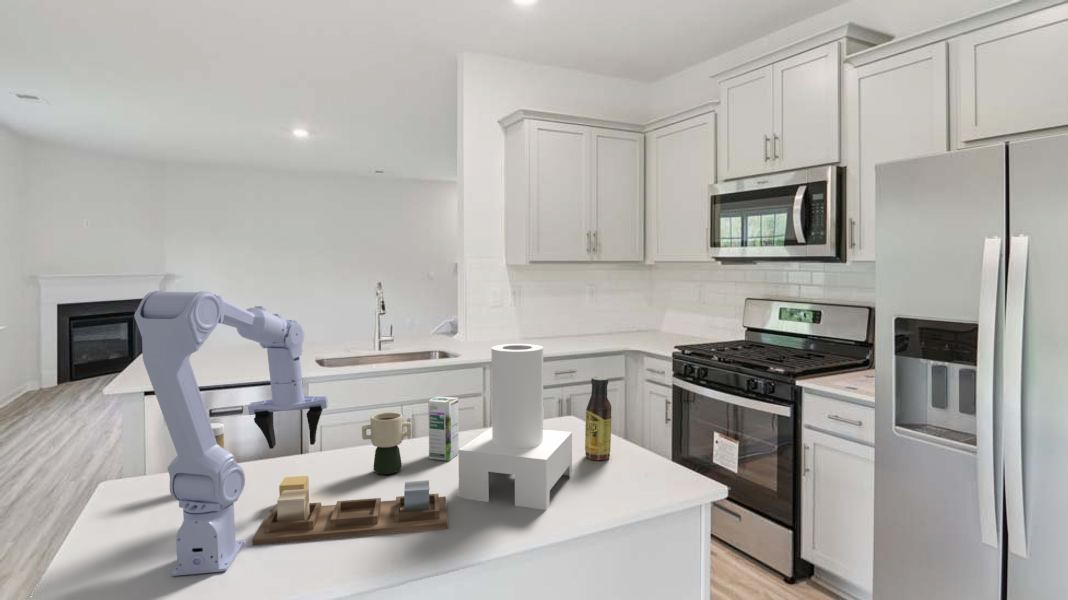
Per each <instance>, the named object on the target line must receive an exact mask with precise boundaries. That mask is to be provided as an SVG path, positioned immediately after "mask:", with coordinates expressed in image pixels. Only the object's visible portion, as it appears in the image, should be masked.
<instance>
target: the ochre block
mask: <svg viewBox="0 0 1068 600" xmlns="http://www.w3.org/2000/svg"><path fill="white" fill-rule="evenodd" d="M309 487H310V486H309V475H303V476H302V475H300V476H286V477H284V478H283V480H282V481H281V483H280V484H279V486H278V490H279V491H278V492H279V496H280V495H281V493H282V492H283V491H285V490H299V489H309V490H310V488H309Z"/></svg>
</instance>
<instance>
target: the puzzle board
mask: <svg viewBox="0 0 1068 600" xmlns="http://www.w3.org/2000/svg"><path fill="white" fill-rule="evenodd" d="M403 492H404V494H403V495H400V496H396V497H395V499H394V500H382V497H374V498H373V497H372V498H361V499H349V500H348V499H347V500H337V501H336V503H335V504H328V505H322V502H310V488H309V489H299V490H285V491H283V492H282V493H281V495H280V494H279V496H278V499H277V501H276V505H275V507H274V508H273V509H270V510H269V512H268V514H267V515H266V517H265V518H264V520H263V522H262V523H261V525H260V526H259V528H258V529H257V531H256V533H255V535H254V536H253V538H252V541H251V543H252V546H259V545H270V544H281V543H283V544H284V543H294V542H305V541H307V542H308V541H316V540H328V539H339V538H341V539H342V538H351V537H363V536H374V535H388V534H395V533H396V534H397V533H398V534H399V533H408V532H409V533H410V532H420V531H421V532H422V531H432V530H433V531H435V530H446V529H449V520H448V509H447V508H448V507H447V497H446V496H440V495H439V493H430V480H429V479H427V480H415V481H413V480H412V481H404V490H403Z"/></svg>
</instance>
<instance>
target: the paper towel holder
mask: <svg viewBox="0 0 1068 600" xmlns="http://www.w3.org/2000/svg"><path fill="white" fill-rule="evenodd" d="M489 473H497V474H506V475H514V506H515V507H524V508H531V509H536V510H542V511H543V510H544V511H547V510H548V509H549V507H550V498H551V497H550V494H551V493H550V491H551V489H552V488H553V487H554V486H555V484H556V483H558V481H559V480H560V479H561V477H562V476H567V477H568V476H569V479H571V478H572V476H573V432H572V431H563V430H554V429H552V430H551V429H544V346H542V345H539V344H532V343H531V344H530V343H505V344H504V343H503V344H497V345H493V346H491V427H489V428H488V429H486V430H485V431H484V432H481V434H479V435H477V436H476V437H475V438H474V439H473V438H472V440H470V441H469V442H467V443H466V444H465V445H463V446H462V447H460V448H459V450H458V498H460V499H466V500H473V501H481V502H487V503H489V502H490V500H489V499H490V496H489Z"/></svg>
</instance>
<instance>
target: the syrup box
mask: <svg viewBox="0 0 1068 600" xmlns="http://www.w3.org/2000/svg"><path fill="white" fill-rule="evenodd" d="M427 402H428V406H427V407H428V410H427V411H428V412H427V413H428V415H427V416H428V417H427V418H428V459H429V460H438V461H439V460H440V461H448V462H450V461H452V460H453V459H454V458H455V457H457V456H459V454H458V450H459V449H460V448H459V447H460V446H459V445H460V444H459V443H460V442H459V441H460V440H459V439H460V437H459V435H460V434H459V432H460V431H459V429H460V428H459V397H451V396H450V397H448V396H435V397H432V398H431V399H429V400H428V401H427Z"/></svg>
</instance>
